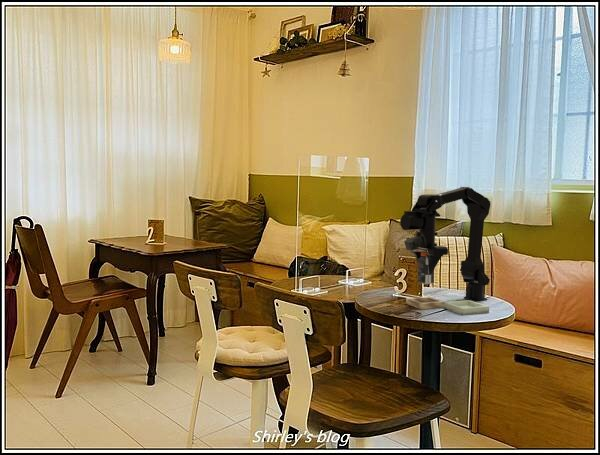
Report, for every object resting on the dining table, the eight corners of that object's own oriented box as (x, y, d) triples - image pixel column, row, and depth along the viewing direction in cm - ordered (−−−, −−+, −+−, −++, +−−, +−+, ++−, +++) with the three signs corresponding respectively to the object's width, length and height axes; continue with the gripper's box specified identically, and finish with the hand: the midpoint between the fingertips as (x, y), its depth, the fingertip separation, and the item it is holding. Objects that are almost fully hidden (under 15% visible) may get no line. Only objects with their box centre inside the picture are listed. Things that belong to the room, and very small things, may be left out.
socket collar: (428, 301, 220) (429, 296, 220) (444, 307, 210) (444, 301, 210) (406, 303, 216) (406, 298, 216) (421, 309, 207) (421, 303, 207)
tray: (469, 305, 213) (469, 300, 213) (489, 312, 203) (489, 306, 203) (444, 308, 209) (444, 302, 209) (463, 314, 199) (463, 308, 199)
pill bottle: (434, 284, 209) (435, 253, 208) (417, 283, 210) (418, 252, 209) (433, 281, 215) (434, 251, 214) (417, 280, 216) (418, 250, 215)
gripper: (394, 227, 217) (393, 269, 218) (422, 232, 199) (421, 277, 201) (419, 227, 221) (418, 267, 222) (449, 231, 203) (448, 275, 205)
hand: (425, 271), depth 212 cm, fingers closed on pill bottle, 6 cm apart
